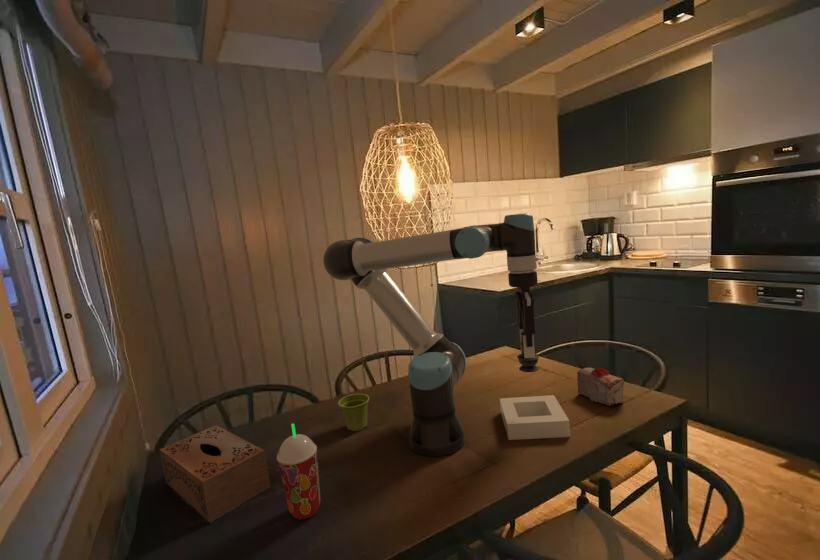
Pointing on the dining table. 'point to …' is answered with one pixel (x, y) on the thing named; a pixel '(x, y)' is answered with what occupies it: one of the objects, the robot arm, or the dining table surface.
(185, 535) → the dining table surface
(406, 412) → the dining table surface
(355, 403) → the plant pot
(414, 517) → the dining table surface
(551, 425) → the square frame
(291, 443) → the smoothie
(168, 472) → the tissue box cover
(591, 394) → the food item
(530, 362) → the dark chess piece
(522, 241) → the robot arm
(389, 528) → the dining table surface
